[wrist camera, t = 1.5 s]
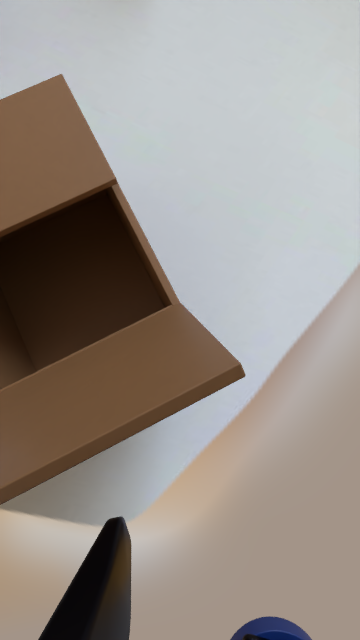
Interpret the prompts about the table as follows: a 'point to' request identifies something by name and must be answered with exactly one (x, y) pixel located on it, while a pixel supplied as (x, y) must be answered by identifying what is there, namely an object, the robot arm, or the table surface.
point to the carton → (65, 238)
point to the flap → (107, 396)
